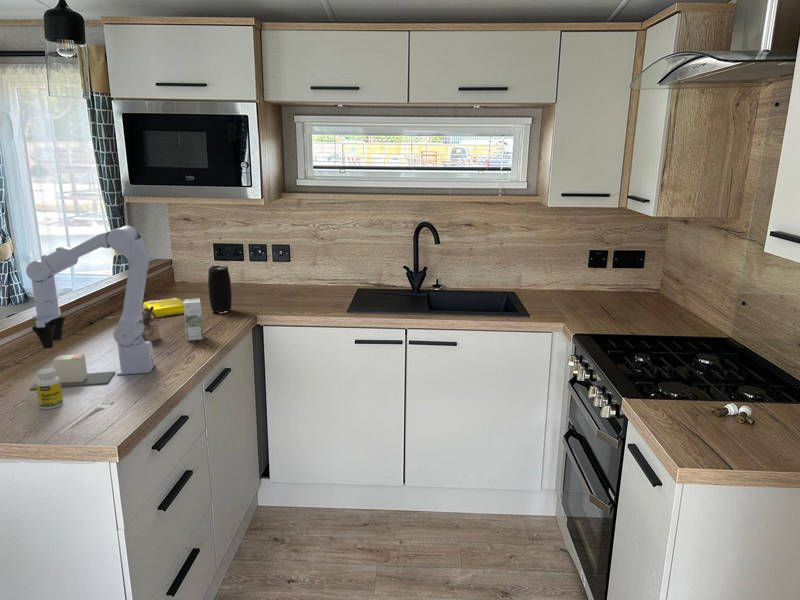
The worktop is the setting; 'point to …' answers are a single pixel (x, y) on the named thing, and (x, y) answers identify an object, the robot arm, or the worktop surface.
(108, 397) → the fork
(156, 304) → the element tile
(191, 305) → the syrup box
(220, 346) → the worktop surface
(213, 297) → the portable speaker
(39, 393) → the supplement bottle
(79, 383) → the rubber mat
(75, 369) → the card box
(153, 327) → the figurine
